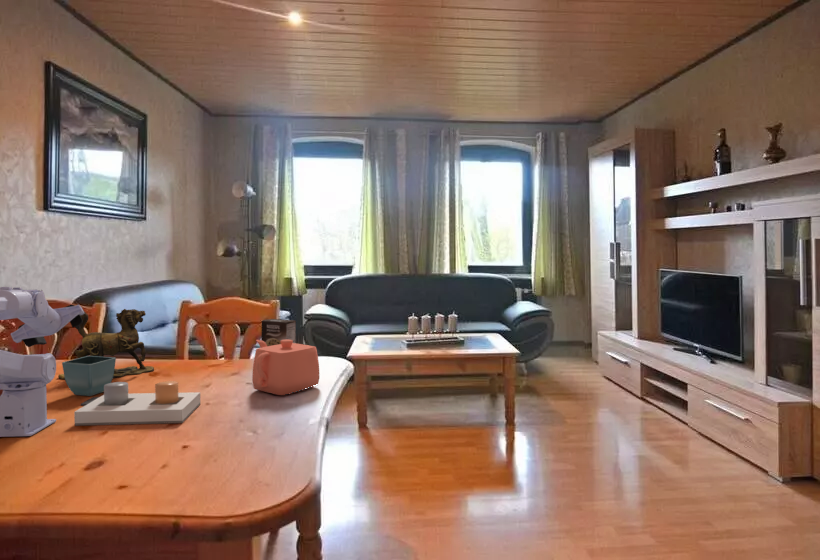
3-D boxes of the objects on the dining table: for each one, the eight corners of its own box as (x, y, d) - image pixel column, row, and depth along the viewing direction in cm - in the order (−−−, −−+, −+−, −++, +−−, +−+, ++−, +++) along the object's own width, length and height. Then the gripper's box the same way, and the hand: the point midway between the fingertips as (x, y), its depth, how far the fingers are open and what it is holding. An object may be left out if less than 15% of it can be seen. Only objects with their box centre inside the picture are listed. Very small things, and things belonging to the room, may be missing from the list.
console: (182, 423, 112) (182, 409, 112) (74, 425, 109) (74, 411, 109) (200, 404, 126) (200, 392, 126) (105, 406, 123) (105, 393, 123)
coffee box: (260, 371, 163) (260, 320, 162) (271, 366, 169) (271, 318, 168) (285, 373, 160) (285, 322, 159) (296, 369, 166) (296, 319, 165)
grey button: (123, 404, 115) (122, 387, 114) (100, 405, 114) (99, 387, 114) (131, 398, 119) (131, 381, 119) (110, 399, 119) (109, 382, 119)
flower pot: (90, 399, 129) (90, 364, 128) (61, 396, 130) (60, 362, 130) (117, 390, 137) (116, 357, 137) (89, 388, 139) (88, 355, 139)
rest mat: (107, 405, 124) (107, 403, 124) (80, 405, 123) (80, 403, 123) (118, 398, 130) (118, 396, 130) (92, 398, 129) (92, 397, 129)
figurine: (154, 374, 155) (154, 308, 154) (55, 383, 144) (53, 311, 143) (153, 366, 167) (153, 304, 166) (61, 373, 155) (60, 307, 154)
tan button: (174, 403, 116) (174, 386, 116) (152, 404, 115) (151, 386, 115) (181, 397, 121) (181, 381, 121) (159, 398, 120) (159, 381, 120)
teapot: (283, 376, 157) (283, 331, 156) (329, 386, 145) (329, 338, 145) (226, 389, 140) (226, 339, 140) (273, 402, 129) (273, 347, 128)
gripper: (67, 287, 118) (85, 306, 130) (-5, 316, 112) (21, 333, 124) (80, 312, 116) (97, 329, 128) (8, 343, 110) (33, 358, 122)
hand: (60, 333), depth 126 cm, fingers open, 7 cm apart
